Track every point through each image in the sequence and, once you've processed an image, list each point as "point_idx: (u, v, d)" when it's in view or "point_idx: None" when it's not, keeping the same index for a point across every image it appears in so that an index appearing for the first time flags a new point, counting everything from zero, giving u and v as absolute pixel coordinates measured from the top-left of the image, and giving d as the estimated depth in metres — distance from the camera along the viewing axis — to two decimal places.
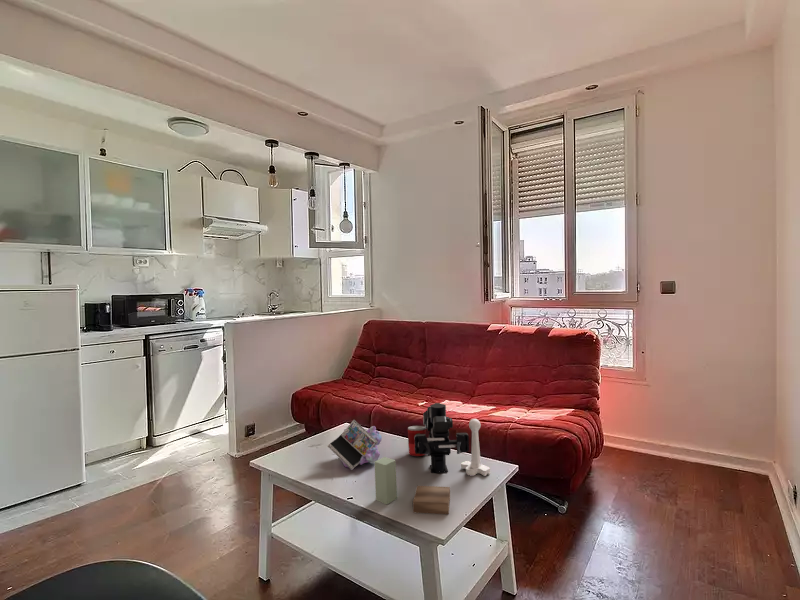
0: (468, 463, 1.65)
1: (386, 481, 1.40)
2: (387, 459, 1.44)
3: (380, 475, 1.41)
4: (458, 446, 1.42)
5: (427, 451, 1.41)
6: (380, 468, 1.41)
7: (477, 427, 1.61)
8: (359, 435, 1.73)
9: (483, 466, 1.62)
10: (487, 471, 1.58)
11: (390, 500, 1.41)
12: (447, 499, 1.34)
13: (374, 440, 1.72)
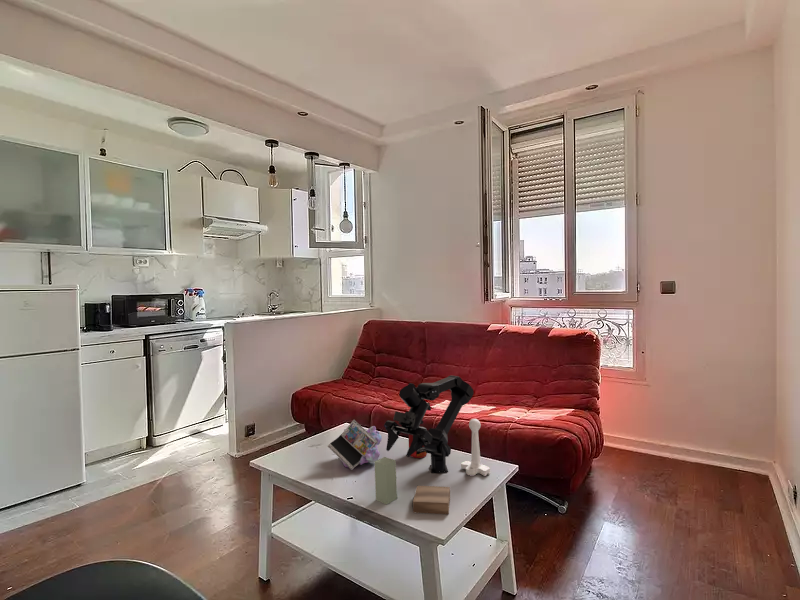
0: (468, 463, 1.65)
1: (386, 481, 1.40)
2: (387, 459, 1.44)
3: (380, 475, 1.41)
4: (410, 448, 1.45)
5: None
6: (380, 468, 1.41)
7: (477, 427, 1.61)
8: (359, 435, 1.73)
9: (483, 466, 1.62)
10: (487, 471, 1.58)
11: (390, 500, 1.41)
12: (447, 499, 1.34)
13: (374, 440, 1.72)
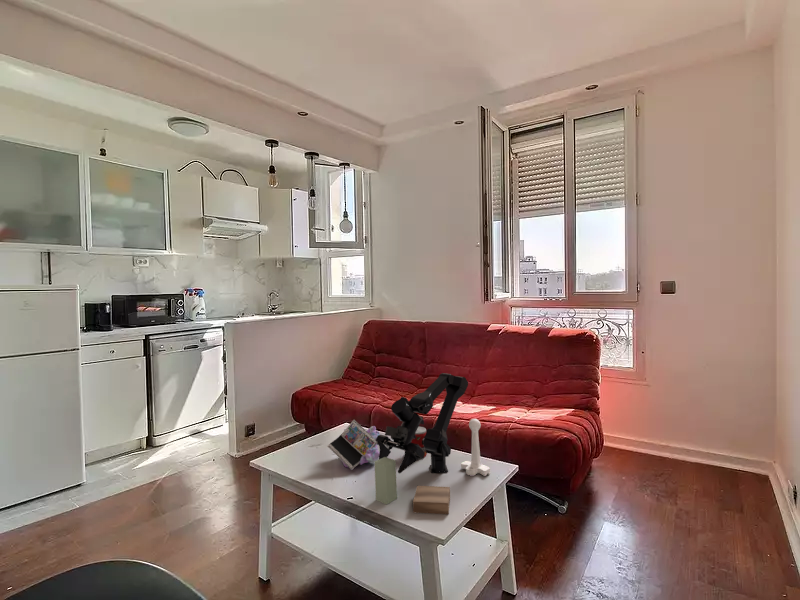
0: (468, 463, 1.65)
1: (386, 481, 1.40)
2: (387, 459, 1.44)
3: (380, 475, 1.41)
4: (401, 464, 1.42)
5: None
6: (380, 468, 1.41)
7: (477, 427, 1.61)
8: (359, 435, 1.73)
9: (483, 466, 1.62)
10: (487, 471, 1.58)
11: (390, 500, 1.41)
12: (447, 499, 1.34)
13: (374, 440, 1.72)
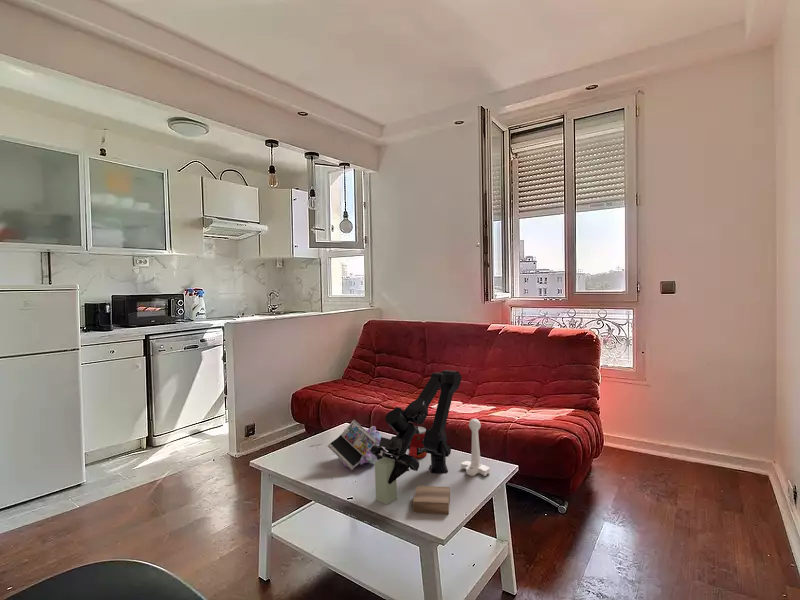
0: (468, 463, 1.65)
1: (386, 481, 1.40)
2: (387, 459, 1.44)
3: (380, 475, 1.41)
4: (391, 475, 1.41)
5: None
6: (380, 468, 1.41)
7: (477, 427, 1.61)
8: (359, 435, 1.73)
9: (483, 466, 1.62)
10: (487, 471, 1.58)
11: (390, 500, 1.41)
12: (447, 499, 1.34)
13: (374, 440, 1.72)
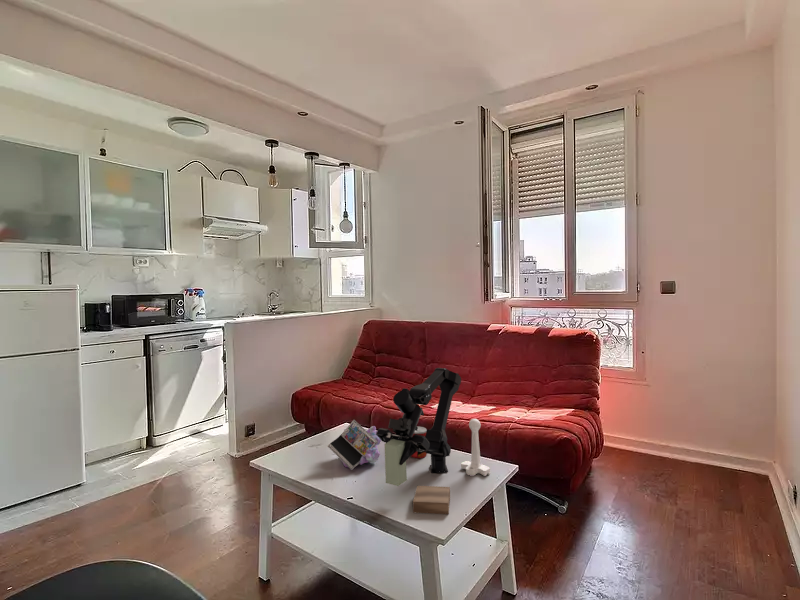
0: (468, 463, 1.65)
1: (397, 463, 1.38)
2: (396, 441, 1.42)
3: (390, 457, 1.39)
4: (402, 456, 1.39)
5: None
6: (391, 450, 1.39)
7: (477, 427, 1.61)
8: (359, 435, 1.73)
9: (483, 466, 1.62)
10: (487, 471, 1.58)
11: (401, 482, 1.39)
12: (447, 499, 1.34)
13: (374, 440, 1.72)
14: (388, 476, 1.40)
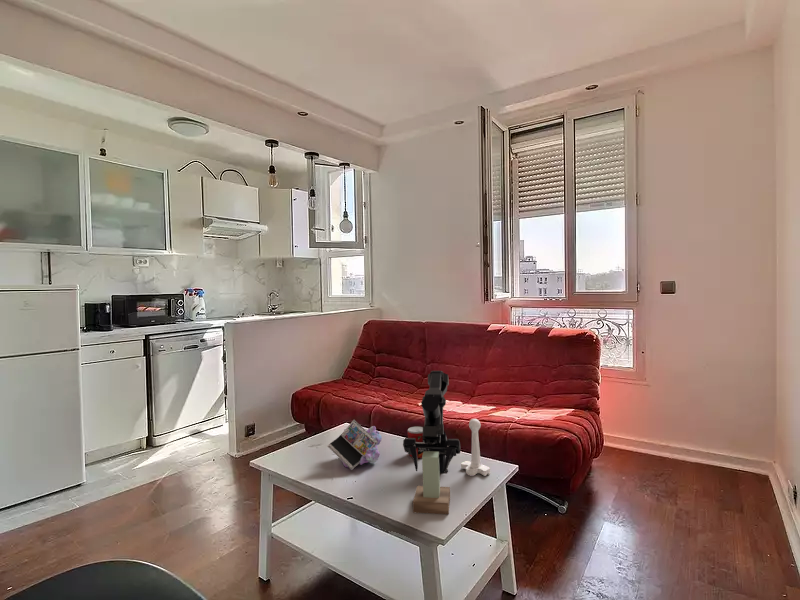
0: (468, 463, 1.65)
1: (438, 474, 1.36)
2: (430, 452, 1.40)
3: (429, 469, 1.36)
4: (446, 462, 1.37)
5: None
6: (431, 462, 1.36)
7: (477, 427, 1.61)
8: (359, 435, 1.73)
9: (483, 466, 1.62)
10: (487, 471, 1.58)
11: (439, 493, 1.37)
12: (447, 499, 1.34)
13: (374, 440, 1.72)
14: (426, 490, 1.36)
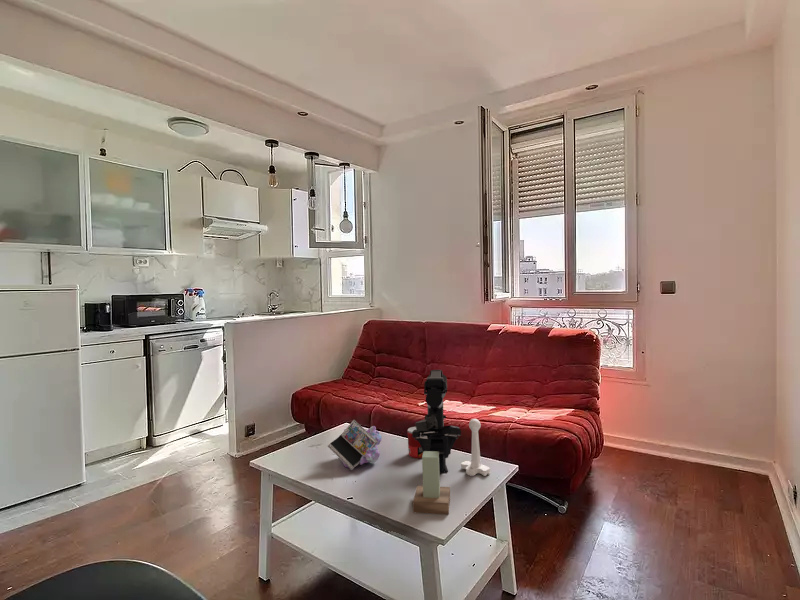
0: (468, 463, 1.65)
1: (438, 474, 1.36)
2: (430, 452, 1.40)
3: (429, 469, 1.36)
4: (445, 450, 1.44)
5: None
6: (431, 462, 1.36)
7: (477, 427, 1.61)
8: (359, 435, 1.73)
9: (483, 466, 1.62)
10: (487, 471, 1.58)
11: (439, 493, 1.37)
12: (447, 499, 1.34)
13: (374, 440, 1.72)
14: (426, 490, 1.36)
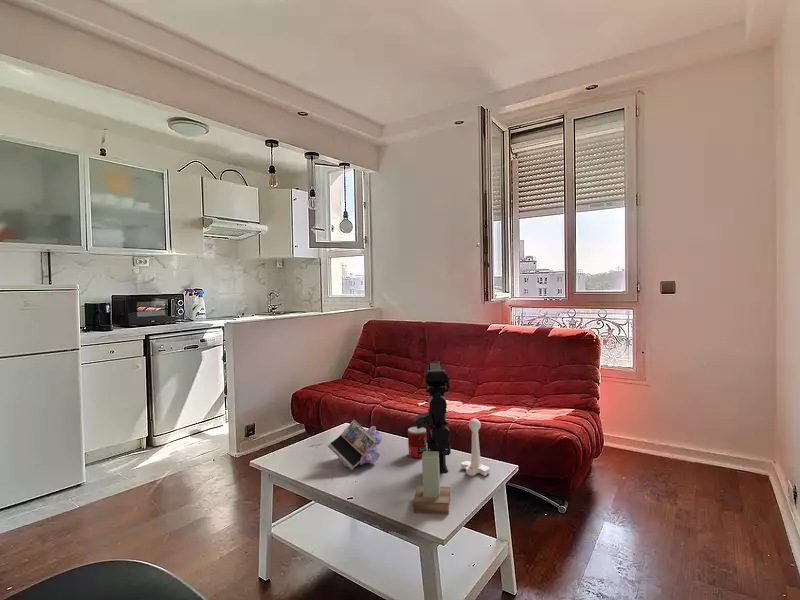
0: (468, 463, 1.65)
1: (438, 474, 1.36)
2: (430, 452, 1.40)
3: (429, 469, 1.36)
4: (437, 448, 1.46)
5: None
6: (431, 462, 1.36)
7: (477, 427, 1.61)
8: (359, 435, 1.73)
9: (483, 466, 1.62)
10: (487, 471, 1.58)
11: (439, 493, 1.37)
12: (447, 499, 1.34)
13: (374, 440, 1.72)
14: (426, 490, 1.36)
